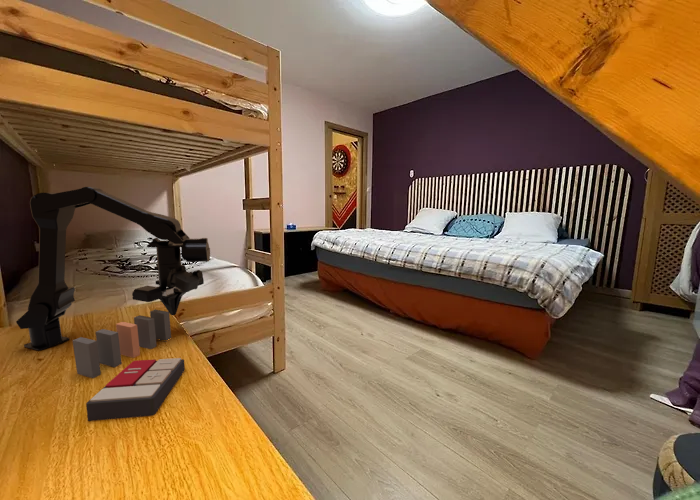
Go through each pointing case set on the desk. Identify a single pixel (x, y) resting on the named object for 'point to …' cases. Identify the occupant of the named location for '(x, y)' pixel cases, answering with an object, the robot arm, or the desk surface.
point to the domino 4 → (146, 331)
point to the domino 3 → (128, 339)
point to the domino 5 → (161, 324)
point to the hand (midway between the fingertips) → (173, 314)
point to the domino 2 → (108, 348)
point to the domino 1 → (86, 357)
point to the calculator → (136, 390)
